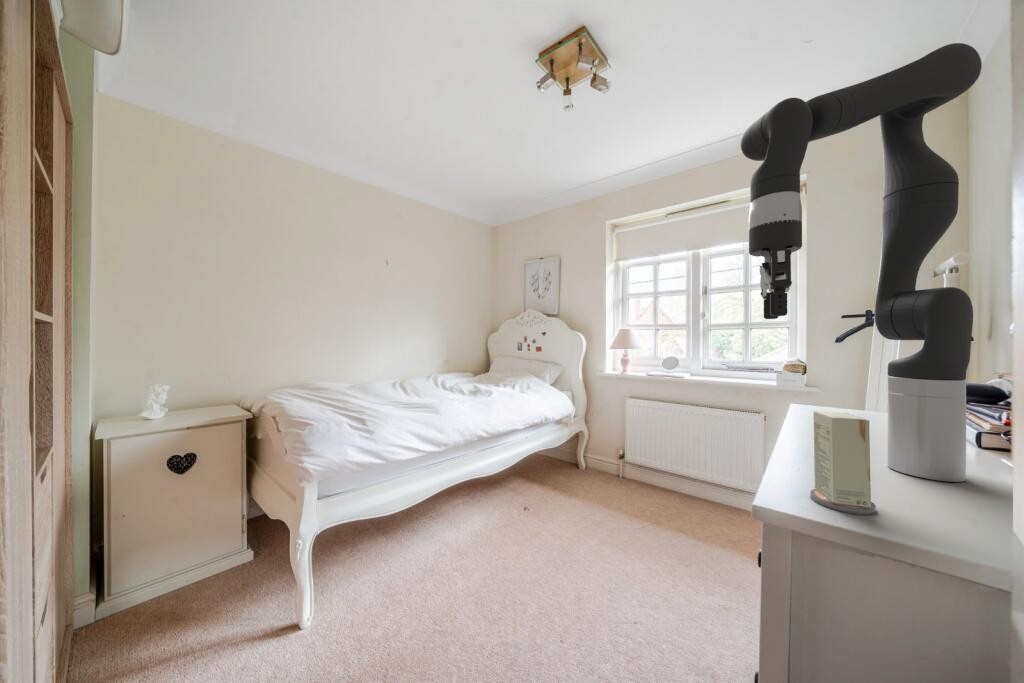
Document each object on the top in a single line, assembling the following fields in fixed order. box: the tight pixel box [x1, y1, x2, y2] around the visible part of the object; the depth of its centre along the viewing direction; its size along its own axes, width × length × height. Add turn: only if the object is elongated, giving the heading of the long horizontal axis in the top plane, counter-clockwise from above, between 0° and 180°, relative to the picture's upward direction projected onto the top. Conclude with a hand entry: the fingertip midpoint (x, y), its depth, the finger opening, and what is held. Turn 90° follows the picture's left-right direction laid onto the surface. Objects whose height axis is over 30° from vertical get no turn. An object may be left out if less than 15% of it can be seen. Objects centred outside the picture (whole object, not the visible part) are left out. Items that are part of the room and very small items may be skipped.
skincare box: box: [813, 410, 872, 508], centre depth 52 cm, size 6×4×12 cm
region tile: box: [809, 488, 877, 516], centre depth 52 cm, size 7×7×1 cm
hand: (774, 317), depth 62 cm, fingers open, 8 cm apart
